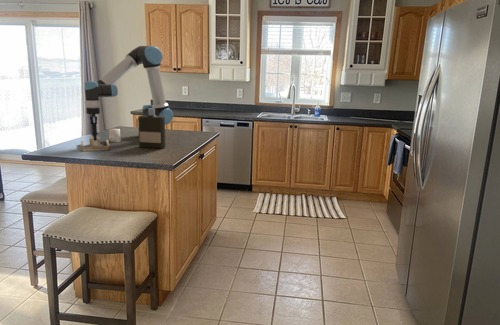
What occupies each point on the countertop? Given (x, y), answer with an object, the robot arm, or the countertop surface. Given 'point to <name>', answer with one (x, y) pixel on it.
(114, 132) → the white rounded capsule
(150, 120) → the bottle
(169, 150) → the countertop surface
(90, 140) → the oak block
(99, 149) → the wooden l-shaped bracket
